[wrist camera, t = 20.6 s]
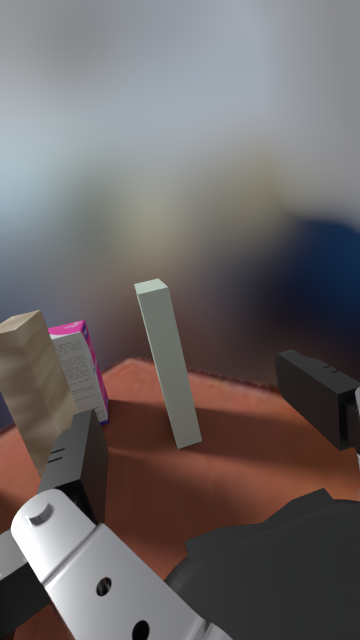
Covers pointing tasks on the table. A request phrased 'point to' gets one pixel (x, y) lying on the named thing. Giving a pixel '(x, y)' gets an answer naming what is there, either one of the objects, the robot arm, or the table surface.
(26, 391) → the tile
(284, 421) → the table surface
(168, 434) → the table surface
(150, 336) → the tile
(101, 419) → the supplement box
